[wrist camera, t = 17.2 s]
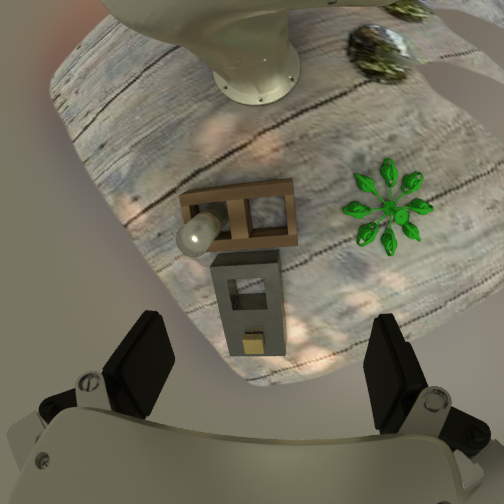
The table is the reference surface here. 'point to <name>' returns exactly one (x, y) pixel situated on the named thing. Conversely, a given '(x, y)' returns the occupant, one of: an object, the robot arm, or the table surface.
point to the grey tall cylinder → (202, 230)
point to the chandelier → (389, 208)
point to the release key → (253, 343)
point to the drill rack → (245, 214)
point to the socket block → (251, 300)
